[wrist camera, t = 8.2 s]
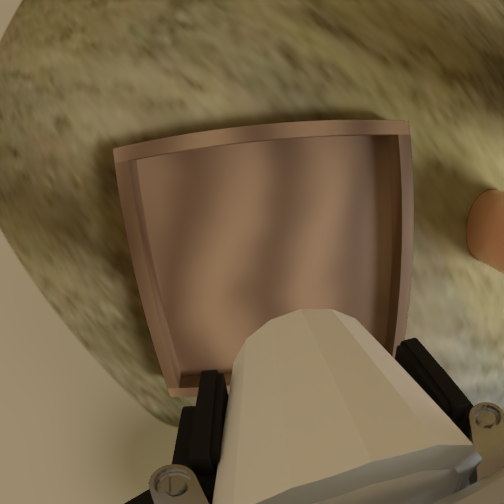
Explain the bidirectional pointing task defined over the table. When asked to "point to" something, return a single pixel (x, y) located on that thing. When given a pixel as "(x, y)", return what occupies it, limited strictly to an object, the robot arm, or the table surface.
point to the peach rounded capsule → (487, 229)
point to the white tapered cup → (333, 422)
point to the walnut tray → (266, 234)
